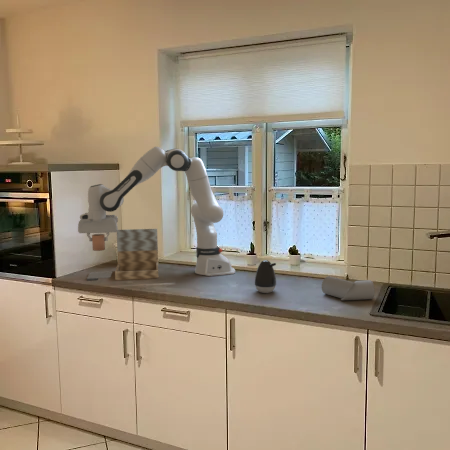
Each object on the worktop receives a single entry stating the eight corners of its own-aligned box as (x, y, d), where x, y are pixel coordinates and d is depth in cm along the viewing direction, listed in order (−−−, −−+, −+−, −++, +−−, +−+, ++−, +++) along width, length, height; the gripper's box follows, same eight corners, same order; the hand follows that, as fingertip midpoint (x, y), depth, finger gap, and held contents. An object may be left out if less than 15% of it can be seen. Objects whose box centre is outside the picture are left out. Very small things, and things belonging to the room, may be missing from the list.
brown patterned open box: (158, 270, 266) (157, 228, 262) (158, 279, 246) (157, 234, 243) (118, 272, 263) (116, 229, 259) (115, 281, 243) (113, 235, 240)
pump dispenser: (270, 296, 216) (270, 263, 214) (250, 292, 221) (250, 261, 219) (280, 290, 224) (280, 259, 222) (260, 287, 230) (261, 257, 228)
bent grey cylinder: (332, 302, 203) (376, 300, 205) (330, 277, 203) (375, 275, 206) (319, 299, 220) (360, 297, 222) (318, 276, 221) (359, 274, 223)
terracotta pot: (105, 248, 255) (105, 233, 254) (104, 250, 249) (103, 235, 248) (93, 248, 254) (92, 233, 253) (91, 250, 248) (91, 235, 247)
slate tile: (112, 273, 261) (112, 271, 261) (110, 279, 248) (110, 277, 248) (90, 274, 260) (90, 272, 260) (86, 280, 246) (86, 278, 246)
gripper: (118, 214, 254) (118, 239, 255) (78, 214, 251) (79, 240, 253) (117, 215, 247) (118, 241, 249) (76, 216, 244) (78, 242, 246)
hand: (98, 241), depth 251 cm, fingers closed on terracotta pot, 6 cm apart
